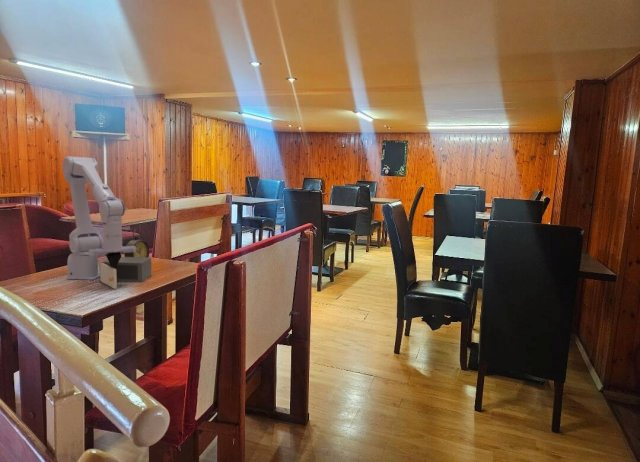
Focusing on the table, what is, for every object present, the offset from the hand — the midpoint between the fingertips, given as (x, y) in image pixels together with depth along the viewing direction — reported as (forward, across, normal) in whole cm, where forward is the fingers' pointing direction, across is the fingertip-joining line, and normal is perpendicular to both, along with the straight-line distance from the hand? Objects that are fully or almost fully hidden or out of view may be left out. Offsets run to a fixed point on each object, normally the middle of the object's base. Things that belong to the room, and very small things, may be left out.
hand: (113, 274), depth 146 cm
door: (+4, -2, +3) cm, 5 cm away
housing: (+4, +8, +9) cm, 12 cm away
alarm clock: (+4, +16, +23) cm, 28 cm away
